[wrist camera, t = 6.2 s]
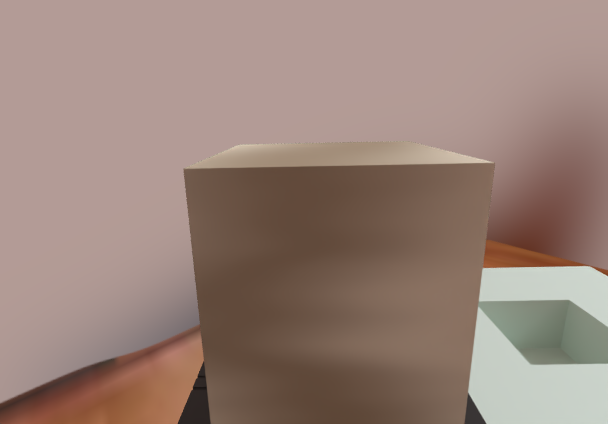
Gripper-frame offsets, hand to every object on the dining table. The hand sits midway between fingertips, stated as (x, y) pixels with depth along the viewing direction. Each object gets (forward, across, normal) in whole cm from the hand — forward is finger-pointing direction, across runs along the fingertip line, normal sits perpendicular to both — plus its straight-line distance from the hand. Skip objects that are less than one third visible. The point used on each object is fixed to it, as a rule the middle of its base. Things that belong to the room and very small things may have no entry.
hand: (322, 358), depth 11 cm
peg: (-3, 0, +8) cm, 9 cm away
